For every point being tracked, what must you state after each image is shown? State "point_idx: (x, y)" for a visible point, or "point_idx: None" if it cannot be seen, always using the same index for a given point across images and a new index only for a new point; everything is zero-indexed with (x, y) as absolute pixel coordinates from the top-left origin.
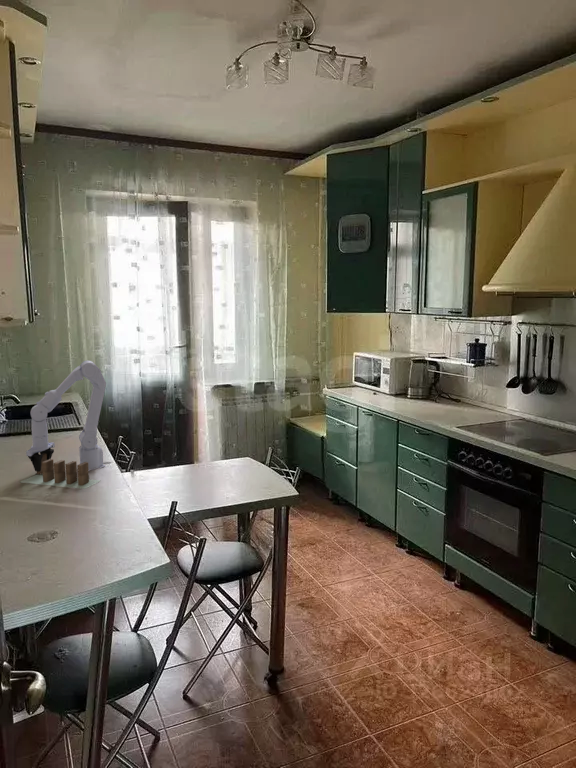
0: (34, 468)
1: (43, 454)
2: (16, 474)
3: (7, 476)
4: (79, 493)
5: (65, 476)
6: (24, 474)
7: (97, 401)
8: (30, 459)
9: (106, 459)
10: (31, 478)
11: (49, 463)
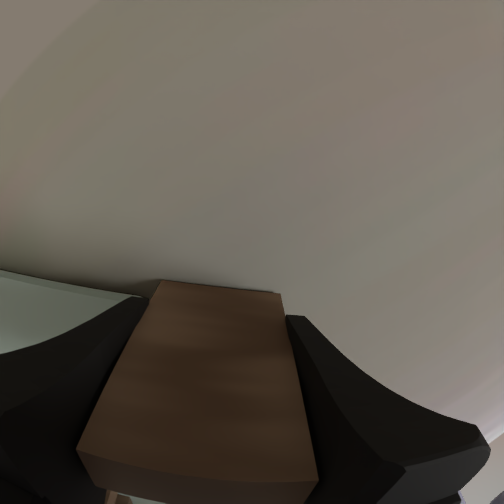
0: (115, 309)
1: (252, 501)
2: (169, 36)
3: (99, 8)
4: None
5: (116, 492)
6: (180, 117)
7: None
8: (4, 362)
9: (500, 432)
10: (38, 310)
11: None
